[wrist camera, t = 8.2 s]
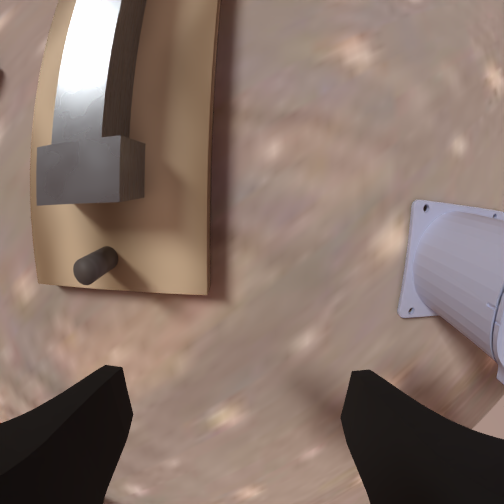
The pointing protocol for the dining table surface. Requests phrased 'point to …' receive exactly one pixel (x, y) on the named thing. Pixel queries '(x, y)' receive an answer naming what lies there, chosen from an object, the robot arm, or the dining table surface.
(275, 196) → the dining table surface
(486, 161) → the dining table surface
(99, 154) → the drawer pull handle
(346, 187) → the dining table surface
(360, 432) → the robot arm
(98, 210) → the oak board
